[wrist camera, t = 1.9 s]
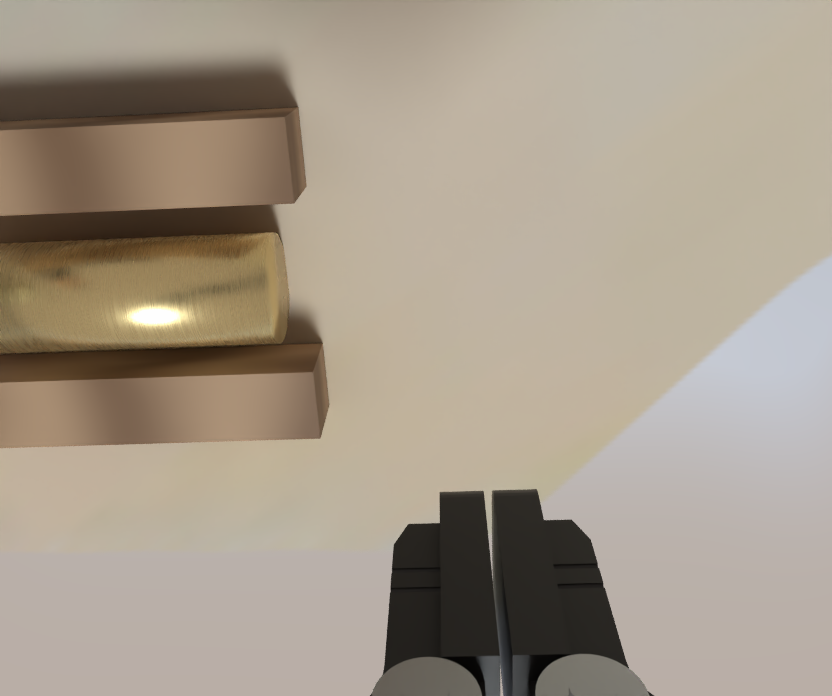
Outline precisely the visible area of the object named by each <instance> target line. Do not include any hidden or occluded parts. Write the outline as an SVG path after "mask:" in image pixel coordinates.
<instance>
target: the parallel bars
mask: <svg viewBox="0 0 832 696" xmlns="http://www.w3.org/2000/svg"><path fill="white" fill-rule="evenodd" d="M305 188H306V178H305V169H304V159H303V149H302V140H301V130H300V120H299V111H298V107H294V108H273V109H252V110H231V111H210V112H189V113H167V114H146V115H125V116H104V117H83V118H62V119H41V120H19V121H0V216H8V215H32V214H56V213H79V212H103V211H127V210H150V209H174V208H197V207H221V206H245V205H268V204H292V203H295V202H296V200H297V199H298V197H299V196H300V195H301V193H302V192H303V191H304V189H305ZM328 408H329V400H328V390H327V380H326V371H325V361H324V351H323V343H319V344H290V345H262V346H233V347H205V348H176V349H148V350H119V351H90V352H62V353H33V354H5V355H0V448H20V447H53V446H86V445H119V444H153V443H186V442H219V441H252V440H285V439H319V438H321V434H322V430H323V427H324V423H325V419H326V415H327V412H328Z"/></svg>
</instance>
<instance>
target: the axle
mask: <svg viewBox="0 0 832 696" xmlns="http://www.w3.org/2000/svg"><path fill="white" fill-rule="evenodd" d="M288 318H289V289H288V281H287V272H286V264H285V255H284V249H283V246H282V243H281V240H280V238H279V236H278V234H277V233H275V232H271V233H247V234H223V235H198V236H174V237H150V238H125V239H101V240H76V241H52V242H28V243H3V244H0V353H28V352H56V351H84V350H113V349H141V348H169V347H197V346H226V345H254V344H280V343H282V342H283V341H284V339H285V336H286V332H287V326H288Z"/></svg>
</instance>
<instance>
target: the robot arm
mask: <svg viewBox="0 0 832 696" xmlns="http://www.w3.org/2000/svg"><path fill="white" fill-rule="evenodd" d="M492 552H493V553H492V556H493V557H492V561H493V580H492V570H491V561H490V550H489V540H488V530H487V520H486V510H485V500H484V492H483V491H464V492H440V523H431V524H408V525H407V527H406V528H405V530H404V531H403V532H402V534H401V535H400V537H399V538H398V540H397V541H396V543H395V544H394V550H393V564H392V576H391V593H390V603H389V615H388V627H387V641H386V653H385V654H386V655H385V666H384V672H383V675H382V677H381V678H380V679H379V681H378V682H377V683H376V686H375V687H374V689H373V692H372V694H371V695H370V696H500V666H501V676H502V686H503V695H504V696H654V695H652V694H651V693H649V692H648V691H647V689H646V687H645V685H644V684H643V682H642V681H641V680H640V678H639V677H638V676H637V675H636V674H635V673H634V672H633V671H631V670H630V669H629V667H628V665H627V662H626V659H625V656H624V652H623V649H622V646H621V642H620V639H619V635H618V632H617V628H616V625H615V621H614V618H613V615H612V611H611V608H610V604H609V601H608V598H607V594H606V591H605V588H604V587H603V581H602V577H601V573H600V570H599V568H598V565H597V560H596V556H595V553H594V549H593V546H592V543H591V540H590V539H589V537H588V536H587V535H586V534H585V533H584V532H583V531H582V530H581V529H580V528H579V527H578V526H577V525H576V524H575V523H574V522H573V521H572V520H547V521H546V520H544V519H543V514H542V510H541V505H540V500H539V495H538V491H537V489H532V490H495V491H492Z"/></svg>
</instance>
